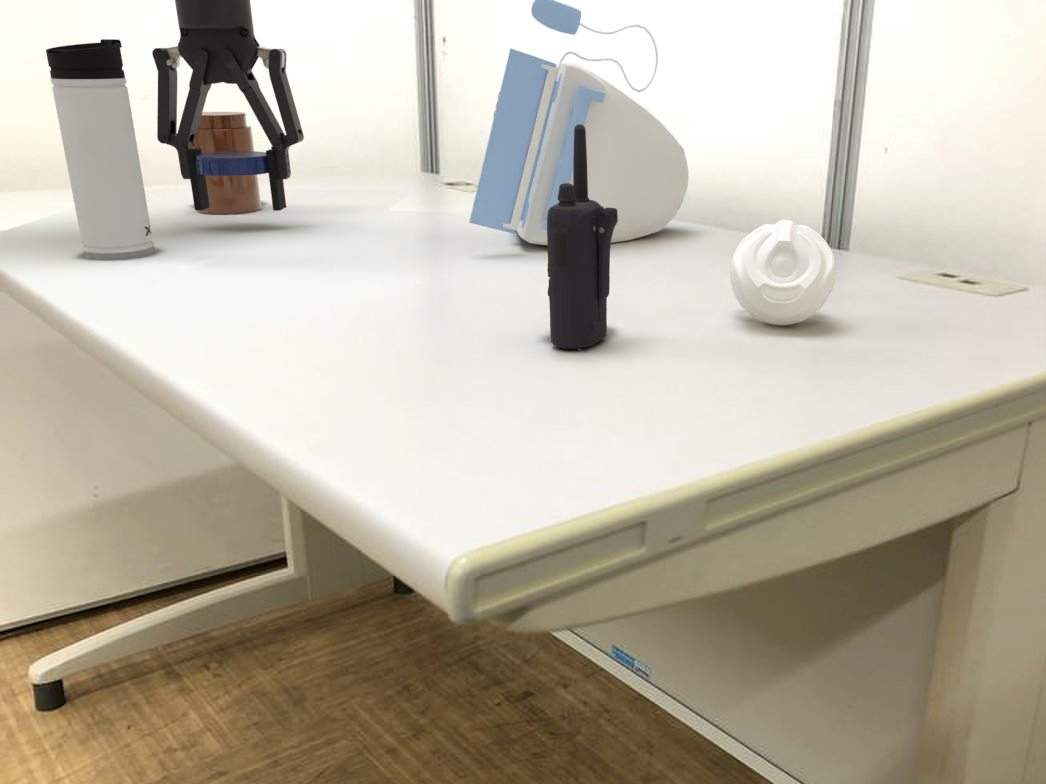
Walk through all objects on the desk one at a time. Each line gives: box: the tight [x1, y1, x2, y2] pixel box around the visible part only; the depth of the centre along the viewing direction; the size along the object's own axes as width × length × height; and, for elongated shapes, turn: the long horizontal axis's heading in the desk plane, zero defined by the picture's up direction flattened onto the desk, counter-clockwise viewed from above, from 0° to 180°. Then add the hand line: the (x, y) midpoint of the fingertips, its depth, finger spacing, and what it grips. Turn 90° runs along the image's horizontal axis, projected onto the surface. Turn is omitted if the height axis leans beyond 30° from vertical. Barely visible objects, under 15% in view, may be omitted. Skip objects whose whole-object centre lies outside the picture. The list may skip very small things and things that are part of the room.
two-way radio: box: [546, 124, 618, 351], centre depth 74 cm, size 6×4×15 cm
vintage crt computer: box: [468, 0, 689, 246], centre depth 115 cm, size 25×23×17 cm
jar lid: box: [195, 150, 269, 176], centre depth 119 cm, size 8×8×2 cm
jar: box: [193, 111, 262, 215], centre depth 132 cm, size 8×8×12 cm
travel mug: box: [45, 38, 155, 261], centre depth 100 cm, size 6×7×20 cm
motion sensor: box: [729, 219, 837, 326], centre depth 81 cm, size 8×8×8 cm
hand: (241, 208), depth 121 cm, fingers closed on jar lid, 8 cm apart
